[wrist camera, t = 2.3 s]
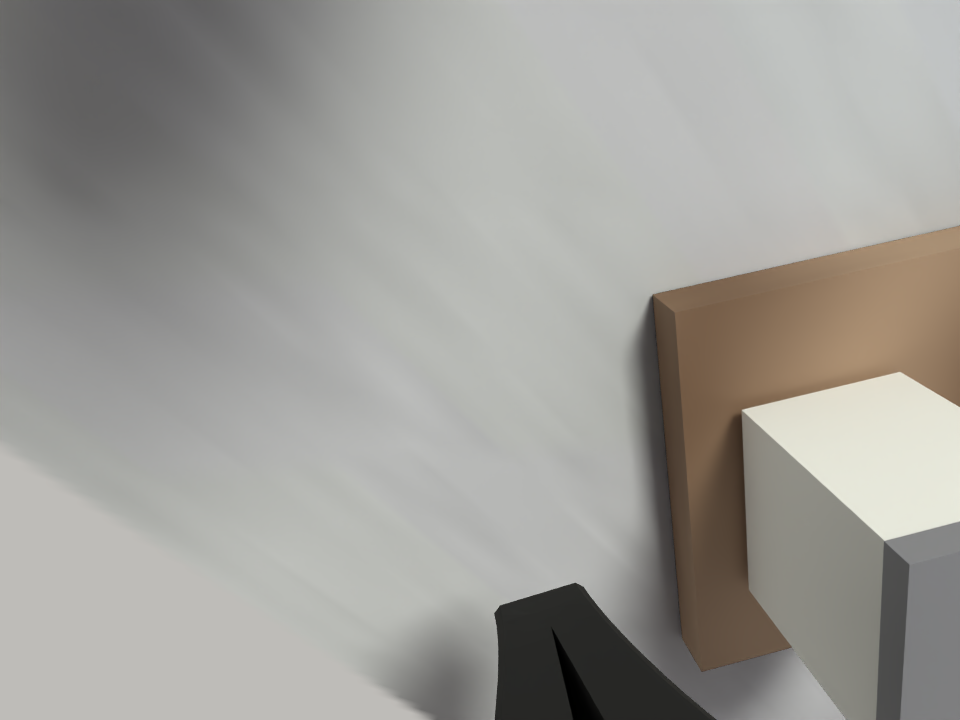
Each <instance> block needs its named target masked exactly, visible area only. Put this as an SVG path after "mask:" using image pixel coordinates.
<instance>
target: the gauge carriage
mask: <svg viewBox="0 0 960 720" xmlns="http://www.w3.org/2000/svg"><path fill="white" fill-rule="evenodd" d="M742 433H743V458H744V483H745V507H746V532H747V557H748V582H749V591H750V592H751V593H752V595H753V596H754V597H755V599H756V600H757V601H758V603H759V604H760V605H761V607H762V608H763V609H764V611H765V612H766V613H767V615H768V616H769V617H770V619H771V620H772V621H773V623H774V624H775V625H776V627H777V628H778V629H779V631H780V632H781V633H782V635H783V636H784V637H785V639H786V640H787V641H788V643H789V644H790V645H791V647H792V648H793V649H794V651H795V652H796V653H797V655H798V656H799V657H800V659H801V660H802V661H803V663H804V664H805V665H806V667H807V668H808V669H809V671H810V672H811V673H812V675H813V676H814V677H815V679H816V680H817V681H818V683H819V684H820V685H821V687H822V688H823V689H824V690H825V692H826V693H827V694H828V696H829V697H830V698H831V700H832V701H833V702H834V704H835V705H836V706H837V708H838V709H839V710H840V712H841V713H842V714H843V716H844V717H845V718H846V720H960V407H958V406H957V405H955V404H953V403H952V402H950V401H948V400H947V399H945V398H943V397H942V396H940V395H938V394H937V393H935V392H933V391H932V390H930V389H928V388H926V387H925V386H923V385H921V384H920V383H918V382H916V381H915V380H913V379H911V378H910V377H908V376H906V375H905V374H903V373H901V372H897V373H893V374H889V375H885V376H881V377H876V378H872V379H868V380H864V381H860V382H856V383H851V384H847V385H843V386H839V387H835V388H831V389H826V390H822V391H818V392H814V393H810V394H806V395H801V396H797V397H793V398H789V399H785V400H781V401H776V402H772V403H768V404H764V405H760V406H756V407H751V408H747V409H743V410H742Z"/></svg>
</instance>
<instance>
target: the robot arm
mask: <svg viewBox="0 0 960 720" xmlns="http://www.w3.org/2000/svg"><path fill="white" fill-rule="evenodd" d="M494 614H495V619H496V624H497V634H498V655H499V657H498V686H497V699H496V712H495V720H716V719H715V718H714V717H712V716H711V715H710V714H709V713H707V712H706V711H705V710H704V709H703V708H701V707H700V706H699V705H698V704H697V703H696V702H694V701H693V700H692V699H691V698H690V697H688V696H687V695H686V694H685V693H684V692H683V691H681V690H680V689H679V688H678V687H677V686H676V685H675V684H674V683H672V682H671V681H670V680H669V679H668V678H667V677H666V676H665V675H664V674H663V673H662V672H661V671H659V670H658V669H657V668H656V667H655V666H654V665H653V664H652V663H651V662H650V661H649V660H648V659H647V658H646V657H645V656H644V655H643V654H642V653H641V652H640V651H639V650H638V649H637V648H636V647H635V646H634V645H633V644H632V643H631V642H630V641H629V640H628V639H627V638H626V637H625V636H624V635H623V634H622V633H621V632H620V631H619V630H618V629H617V627H616V626H615V625H614V624H613V623H612V622H611V621H610V620H609V619H608V617H607V616H606V615H605V614H604V613H603V612H602V610H601V609H600V608H599V607H598V606H597V604H596V603H595V602H594V601H593V599H592V598H591V597H590V595H589V594H588V593H587V591H586V590H585V588H584V587H583V586H581V585H579V584H577V583H573V584H570V585H566V586H563V587H560V588H557V589H553V590H550V591H547V592H543V593H540V594H537V595H533V596H530V597H527V598H524V599H520V600H517V601H514V602H510V603H507V604H504V605H500V606H499V608H498V609H497V611H496V612H495V613H494Z"/></svg>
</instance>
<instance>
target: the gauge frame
mask: <svg viewBox="0 0 960 720" xmlns="http://www.w3.org/2000/svg"><path fill="white" fill-rule="evenodd" d="M653 304H654V316H655V328H656V339H657V351H658V363H659V374H660V386H661V398H662V409H663V421H664V433H665V444H666V456H667V468H668V479H669V491H670V503H671V514H672V526H673V538H674V549H675V561H676V573H677V585H678V596H679V608H680V620H681V631H682V639H683V641H684V642H685V644H686V646H687V648H688V649H689V651H690V653H691V654H692V656H693V658H694V660H695V661H696V663H697V665H698V667H699V668H700V670H701V672H703V671H707V670H710V669H714V668H718V667H722V666H725V665H729V664H733V663H736V662H740V661H744V660H747V659H751V658H755V657H759V656H762V655H766V654H770V653H773V652H777V651H781V650H784V649H788V648H792V647H791V645H790V644H789V643H788V641H787V640H786V639H785V637H784V636H783V635H782V633H781V632H780V631H779V629H778V628H777V627H776V625H775V624H774V623H773V621H772V620H771V619H770V617H769V616H768V615H767V613H766V612H765V611H764V609H763V608H762V607H761V605H760V604H759V603H758V601H757V600H756V599H755V597H754V596H753V595H752V593H751V592H750V591H749V582H748V557H747V532H746V507H745V483H744V458H743V433H742V410H743V409H747V408H751V407H756V406H760V405H764V404H768V403H772V402H776V401H781V400H785V399H789V398H793V397H797V396H801V395H806V394H810V393H814V392H818V391H822V390H826V389H831V388H835V387H839V386H843V385H847V384H851V383H856V382H860V381H864V380H868V379H872V378H876V377H881V376H885V375H889V374H893V373H897V372H901V373H903V374H905V375H906V376H908V377H910V378H911V379H913V380H915V381H916V382H918V383H920V384H921V385H923V386H925V387H926V388H928V389H930V390H932V391H933V392H935V393H937V394H938V395H940V396H942V397H943V398H945V399H947V400H948V401H950V402H952V403H953V404H955V405H957V406H958V407H960V226H957V227H953V228H949V229H944V230H940V231H935V232H931V233H926V234H922V235H917V236H913V237H908V238H904V239H899V240H895V241H890V242H886V243H881V244H877V245H872V246H868V247H863V248H859V249H855V250H850V251H846V252H841V253H837V254H832V255H828V256H823V257H819V258H814V259H810V260H805V261H801V262H796V263H792V264H787V265H783V266H778V267H774V268H769V269H765V270H761V271H756V272H752V273H747V274H743V275H738V276H734V277H729V278H725V279H720V280H716V281H711V282H707V283H702V284H698V285H693V286H689V287H684V288H680V289H676V290H671V291H667V292H662V293H658V294H653Z"/></svg>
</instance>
